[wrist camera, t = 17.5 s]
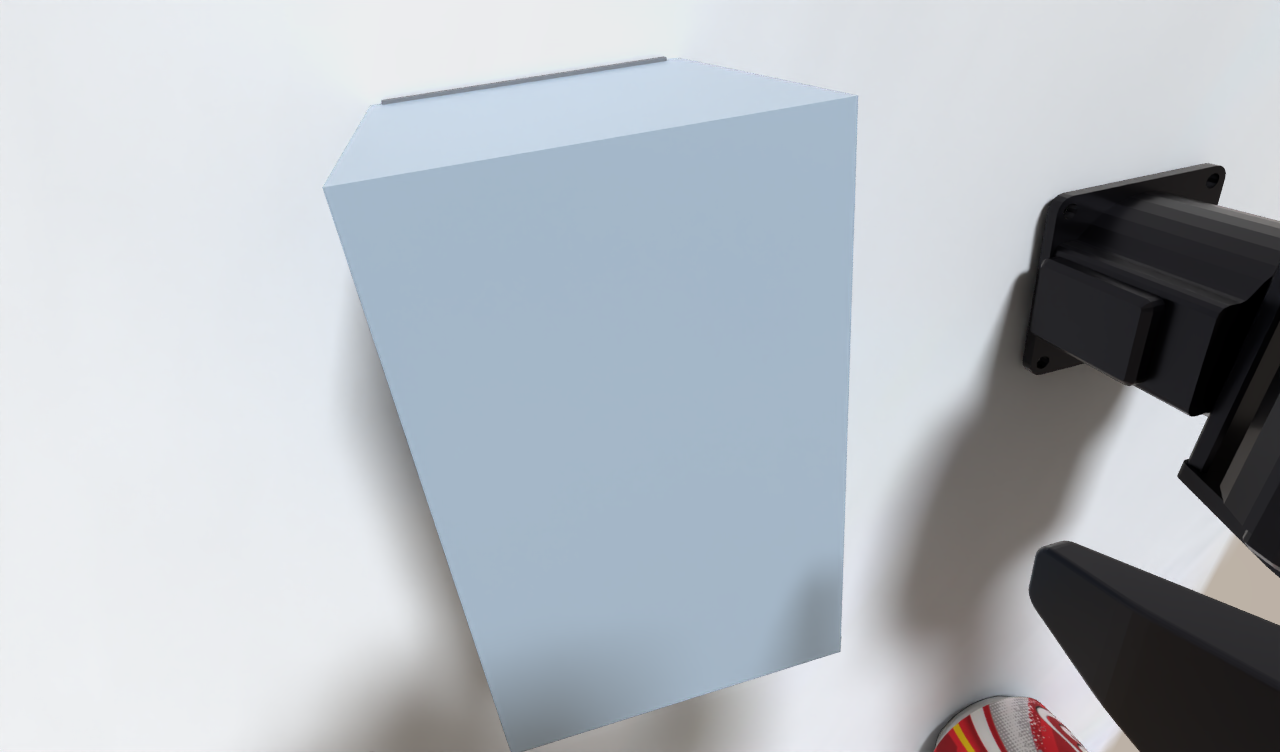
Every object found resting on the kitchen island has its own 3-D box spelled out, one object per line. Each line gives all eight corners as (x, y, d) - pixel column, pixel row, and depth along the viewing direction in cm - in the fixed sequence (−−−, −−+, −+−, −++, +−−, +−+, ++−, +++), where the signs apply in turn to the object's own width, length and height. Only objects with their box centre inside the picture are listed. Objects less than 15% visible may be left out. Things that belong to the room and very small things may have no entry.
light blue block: (679, 58, 18) (857, 95, 11) (711, 449, 24) (840, 651, 17) (370, 105, 17) (323, 187, 9) (484, 506, 23) (511, 755, 15)
